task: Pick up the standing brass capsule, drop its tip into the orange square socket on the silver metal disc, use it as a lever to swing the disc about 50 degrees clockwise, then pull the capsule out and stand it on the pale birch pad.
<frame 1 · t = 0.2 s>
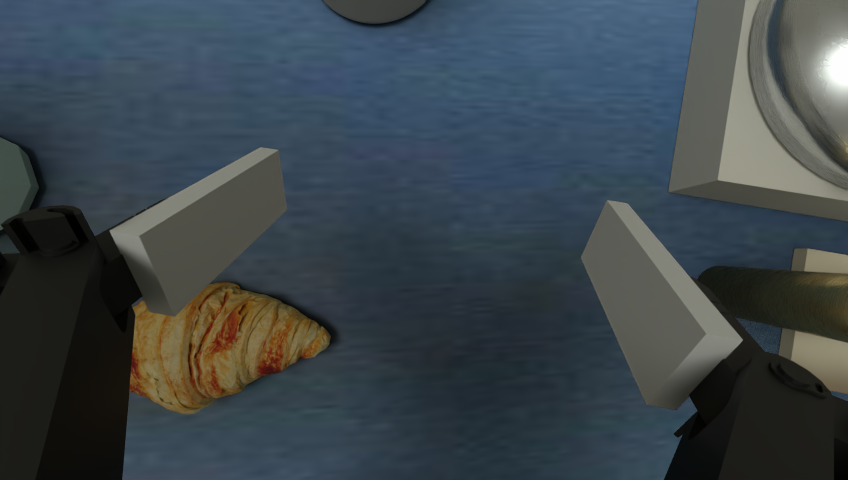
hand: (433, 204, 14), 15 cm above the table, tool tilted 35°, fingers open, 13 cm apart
brass capsule: (719, 289, 28), on the table
croissant: (221, 337, 30), on the table
beige square block: (811, 91, 28), on the table
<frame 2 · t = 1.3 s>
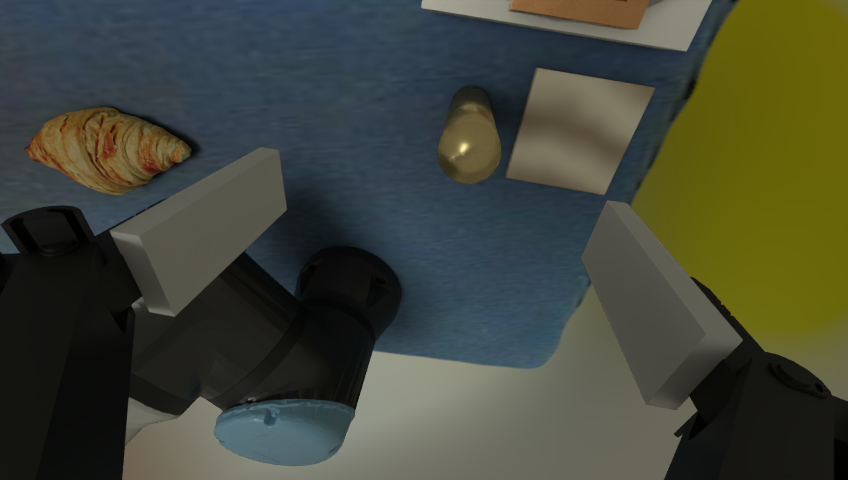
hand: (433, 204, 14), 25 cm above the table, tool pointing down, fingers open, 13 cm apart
brass capsule: (469, 106, 34), on the table
croissant: (126, 147, 42), on the table
birch pad: (571, 134, 35), on the table
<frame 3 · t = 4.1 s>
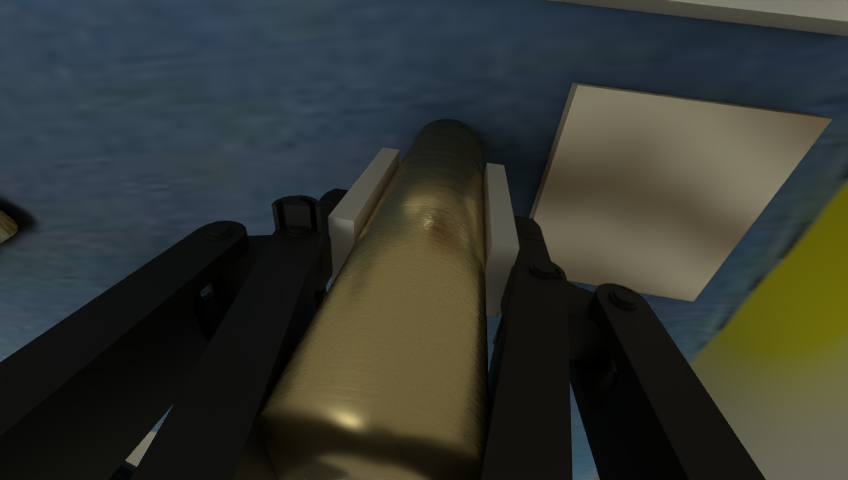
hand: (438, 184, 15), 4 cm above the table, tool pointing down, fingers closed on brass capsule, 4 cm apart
brass capsule: (446, 155, 19), on the table, touching gripper
birch pad: (636, 201, 19), on the table
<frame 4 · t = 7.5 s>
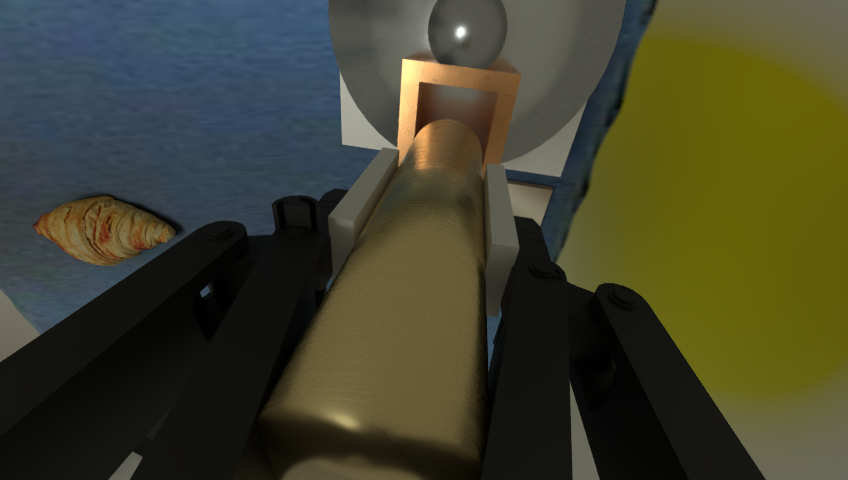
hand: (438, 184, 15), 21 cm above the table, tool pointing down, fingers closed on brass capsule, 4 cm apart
brass capsule: (446, 156, 19), point 17 cm above the table, touching gripper
croissant: (120, 223, 49), on the table
silver metal disc: (468, 31, 23), point 8 cm above the table, hinge at 0.0°
beige square block: (470, 30, 30), on the table
birch pad: (491, 221, 40), on the table
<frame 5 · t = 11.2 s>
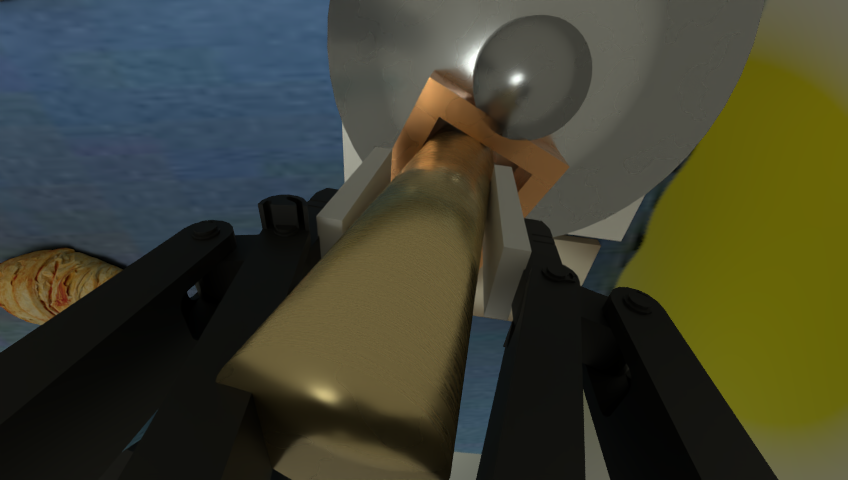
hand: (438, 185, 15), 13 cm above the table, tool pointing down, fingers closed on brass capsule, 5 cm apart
brass capsule: (458, 160, 19), point 9 cm above the table, tilted 7°, touching silver metal disc, gripper
croissant: (83, 275, 42), on the table
silver metal disc: (522, 75, 17), point 8 cm above the table, hinge at 23.8°, touching brass capsule
beige square block: (506, 59, 23), on the table
birch pad: (522, 276, 34), on the table
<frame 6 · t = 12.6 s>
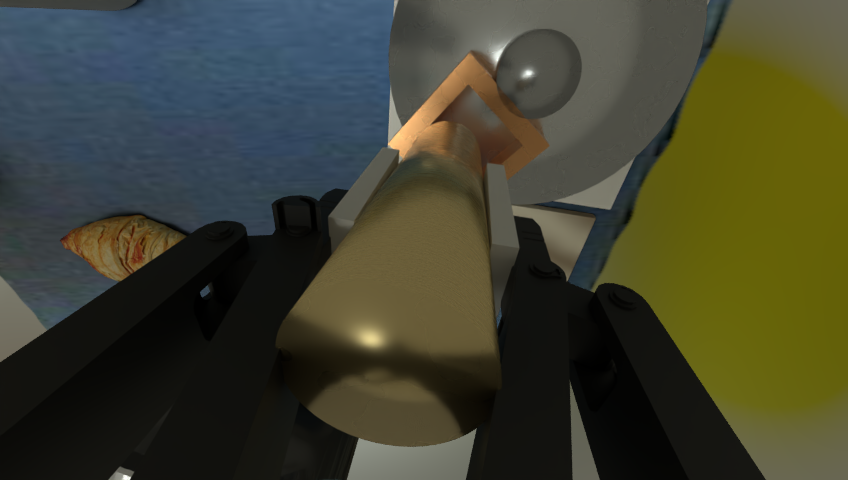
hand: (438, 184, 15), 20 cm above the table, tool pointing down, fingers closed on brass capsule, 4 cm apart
brass capsule: (446, 156, 20), point 15 cm above the table, tilted 5°, touching gripper
croissant: (149, 240, 49), on the table
silver metal disc: (532, 71, 23), point 8 cm above the table, hinge at 37.2°
beige square block: (520, 61, 29), on the table
birch pad: (528, 246, 40), on the table
when the fingers open (6 cm above the table, at t = 17.8 s): brass capsule stays where it is, resting on birch pad.
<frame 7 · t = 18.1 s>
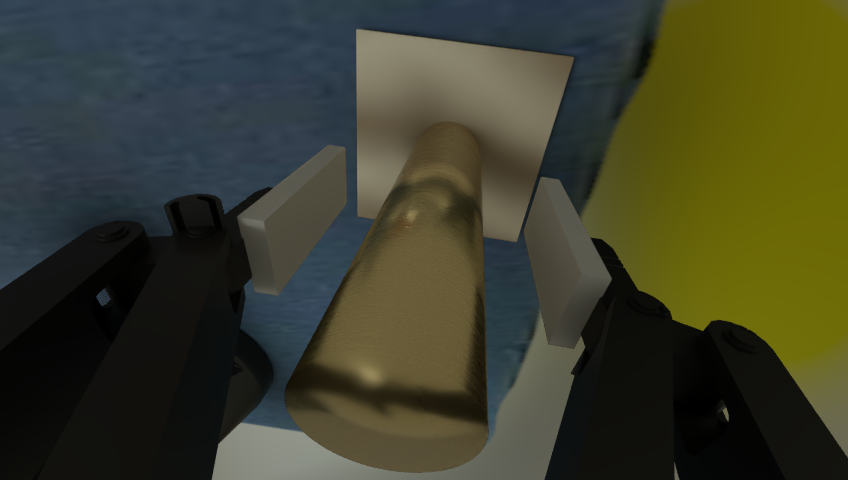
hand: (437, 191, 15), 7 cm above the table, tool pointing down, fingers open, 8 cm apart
brass capsule: (447, 156, 20), point 1 cm above the table, touching birch pad
birch pad: (448, 145, 20), on the table
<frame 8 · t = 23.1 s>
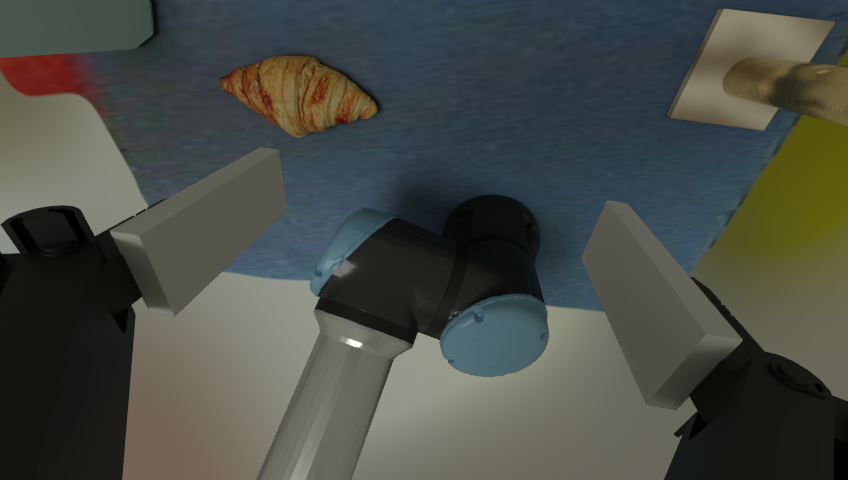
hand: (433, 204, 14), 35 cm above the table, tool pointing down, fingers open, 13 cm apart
water bottle: (124, 4, 43), on the table
brass capsule: (743, 77, 37), point 1 cm above the table, touching birch pad
croissant: (307, 95, 46), on the table
birch pad: (739, 73, 38), on the table
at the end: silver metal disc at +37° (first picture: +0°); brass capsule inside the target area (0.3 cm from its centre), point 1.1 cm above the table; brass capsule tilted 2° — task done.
